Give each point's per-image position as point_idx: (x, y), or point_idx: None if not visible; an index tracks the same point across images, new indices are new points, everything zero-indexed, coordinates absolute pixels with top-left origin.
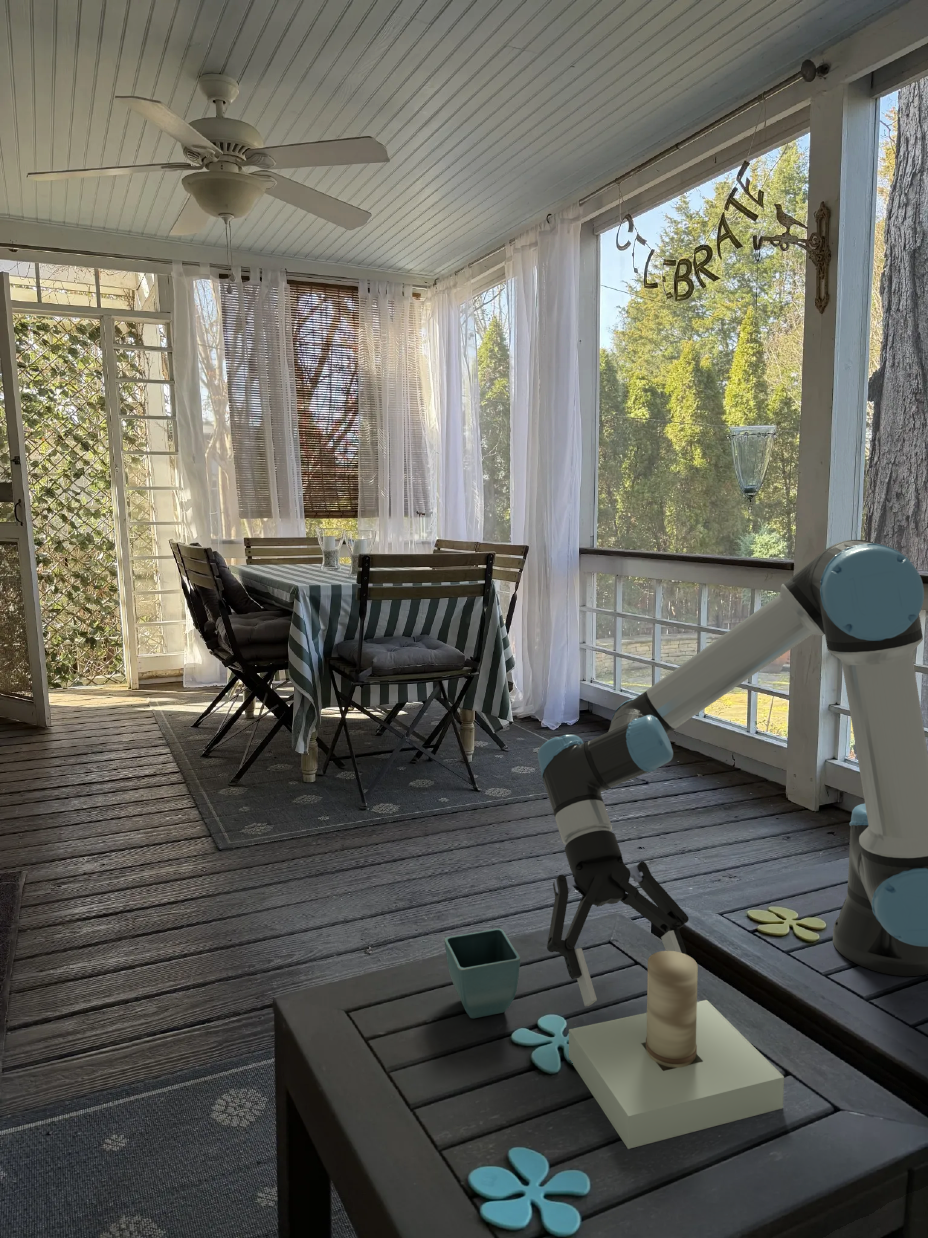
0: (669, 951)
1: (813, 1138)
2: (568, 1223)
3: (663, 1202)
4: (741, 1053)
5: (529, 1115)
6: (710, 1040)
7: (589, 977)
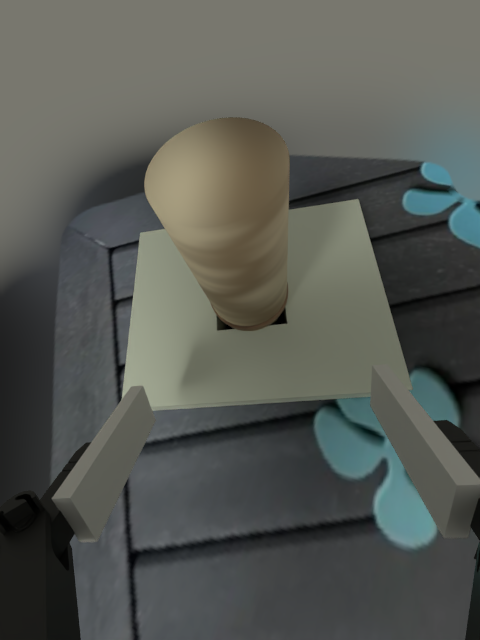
0: (185, 223)
1: (159, 222)
2: (434, 164)
3: (333, 177)
4: (158, 276)
5: (470, 294)
6: (180, 307)
7: (400, 400)
